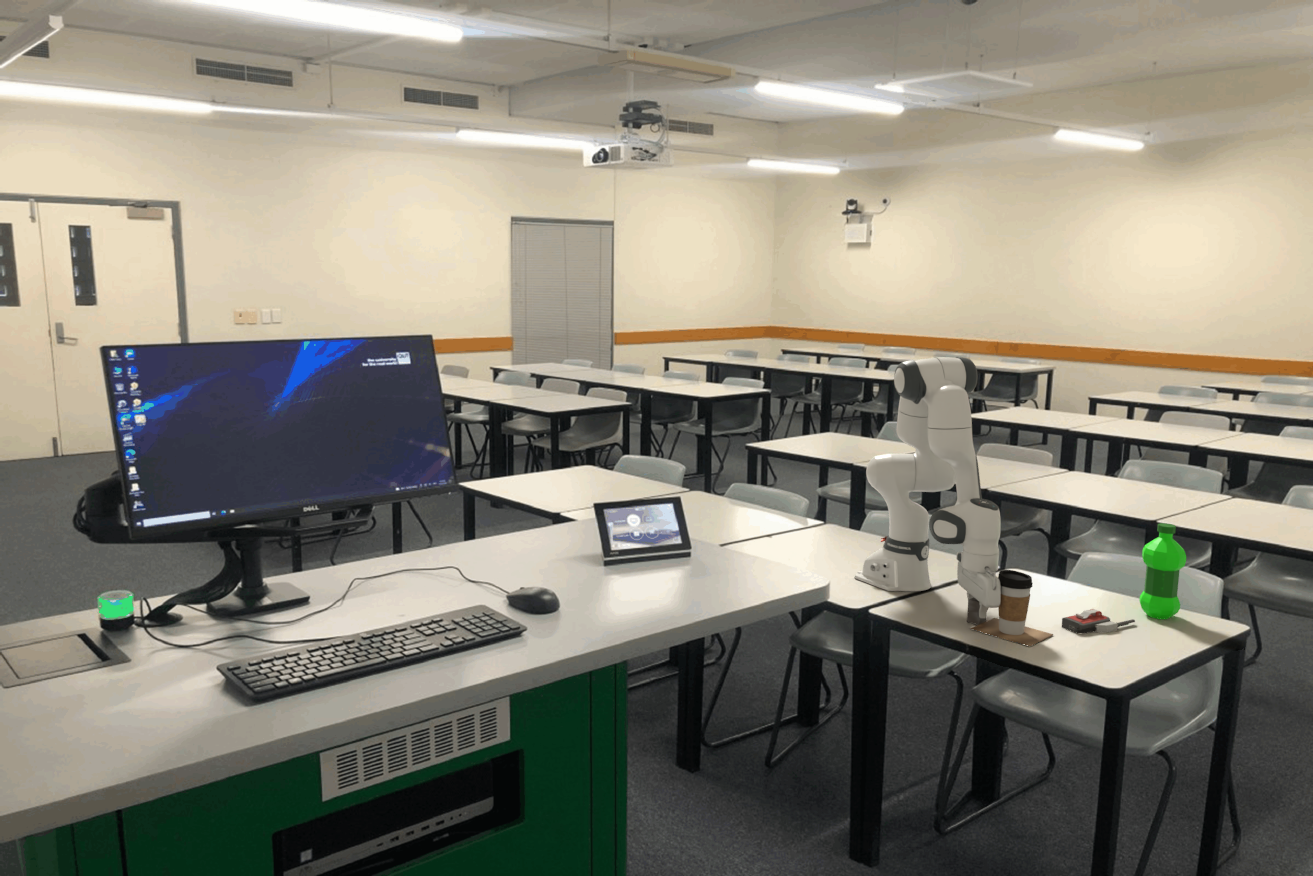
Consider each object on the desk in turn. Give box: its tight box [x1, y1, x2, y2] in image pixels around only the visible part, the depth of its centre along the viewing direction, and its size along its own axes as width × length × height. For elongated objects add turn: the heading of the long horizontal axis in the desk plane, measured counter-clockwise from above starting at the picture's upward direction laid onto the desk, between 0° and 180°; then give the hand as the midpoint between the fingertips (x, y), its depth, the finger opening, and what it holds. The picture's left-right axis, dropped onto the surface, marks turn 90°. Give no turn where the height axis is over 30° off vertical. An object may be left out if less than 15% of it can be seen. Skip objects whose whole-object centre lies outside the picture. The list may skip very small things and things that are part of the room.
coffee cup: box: [997, 569, 1033, 635], centre depth 242 cm, size 8×8×15 cm
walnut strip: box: [966, 597, 1054, 647], centre depth 244 cm, size 20×12×6 cm, turn 42°
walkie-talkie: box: [1061, 608, 1136, 634], centre depth 249 cm, size 9×4×20 cm
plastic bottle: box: [1138, 522, 1187, 620], centre depth 255 cm, size 10×10×25 cm
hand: (977, 613), depth 250 cm, fingers closed on walnut strip, 5 cm apart
